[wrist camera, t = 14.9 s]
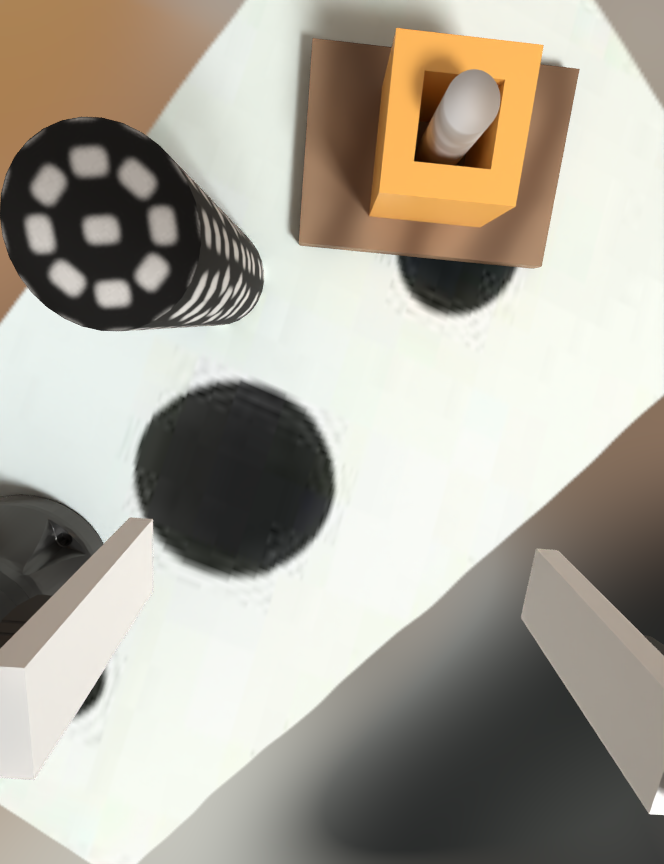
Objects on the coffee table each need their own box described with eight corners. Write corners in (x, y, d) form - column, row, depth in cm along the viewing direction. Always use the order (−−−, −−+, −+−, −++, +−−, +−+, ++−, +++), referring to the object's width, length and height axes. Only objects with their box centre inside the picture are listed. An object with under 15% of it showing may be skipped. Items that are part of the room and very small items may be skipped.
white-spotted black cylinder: (258, 218, 37) (185, 109, 18) (268, 321, 39) (213, 324, 20) (158, 225, 37) (-24, 124, 18) (173, 328, 39) (25, 337, 20)
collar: (368, 216, 36) (379, 192, 29) (382, 86, 34) (396, 28, 27) (480, 227, 36) (515, 206, 29) (500, 99, 34) (543, 44, 27)
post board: (299, 245, 38) (289, 216, 27) (313, 49, 34) (307, -72, 24) (533, 268, 38) (613, 249, 28) (568, 79, 35) (675, -26, 24)
